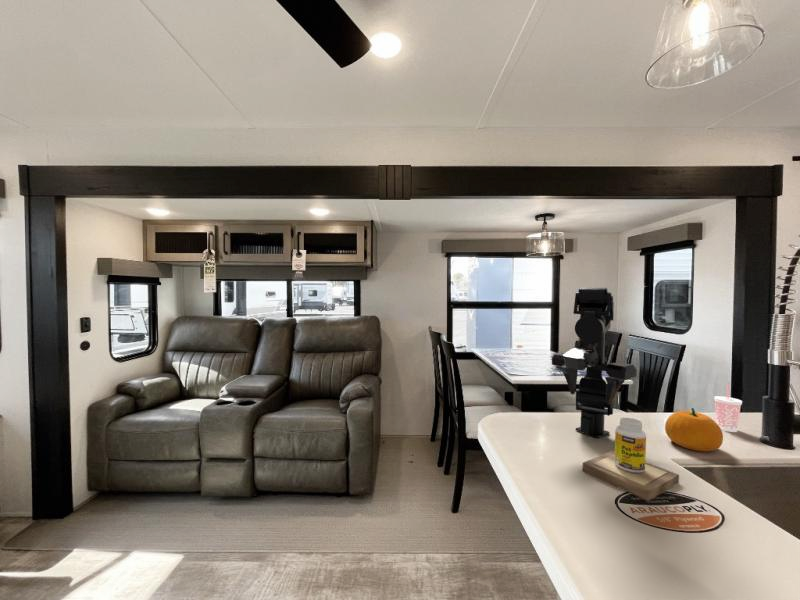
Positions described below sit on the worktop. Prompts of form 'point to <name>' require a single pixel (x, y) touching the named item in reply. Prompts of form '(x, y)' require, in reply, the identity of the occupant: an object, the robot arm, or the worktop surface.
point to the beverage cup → (727, 412)
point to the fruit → (694, 431)
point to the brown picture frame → (632, 476)
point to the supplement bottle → (630, 445)
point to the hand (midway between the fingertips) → (589, 398)
